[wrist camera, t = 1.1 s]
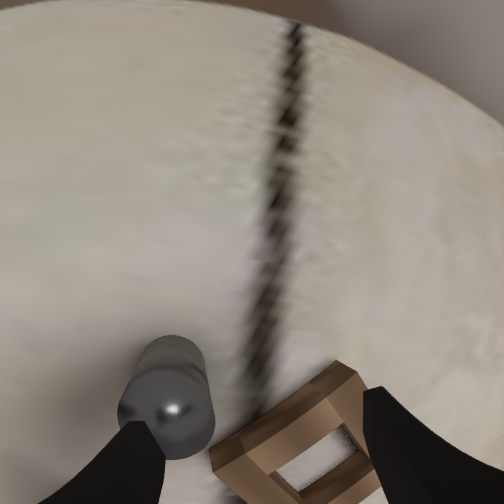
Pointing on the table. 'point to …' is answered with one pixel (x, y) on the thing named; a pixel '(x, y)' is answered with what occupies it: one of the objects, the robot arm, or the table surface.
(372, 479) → the square wooden ring
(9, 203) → the table surface
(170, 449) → the round peg
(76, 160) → the table surface
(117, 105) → the table surface
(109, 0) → the table surface
